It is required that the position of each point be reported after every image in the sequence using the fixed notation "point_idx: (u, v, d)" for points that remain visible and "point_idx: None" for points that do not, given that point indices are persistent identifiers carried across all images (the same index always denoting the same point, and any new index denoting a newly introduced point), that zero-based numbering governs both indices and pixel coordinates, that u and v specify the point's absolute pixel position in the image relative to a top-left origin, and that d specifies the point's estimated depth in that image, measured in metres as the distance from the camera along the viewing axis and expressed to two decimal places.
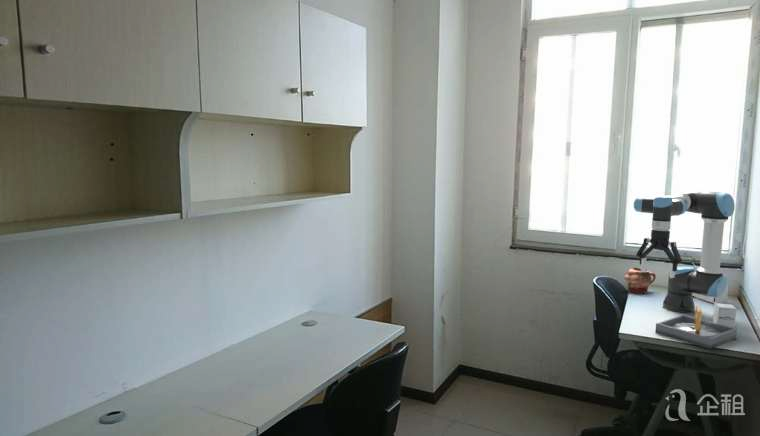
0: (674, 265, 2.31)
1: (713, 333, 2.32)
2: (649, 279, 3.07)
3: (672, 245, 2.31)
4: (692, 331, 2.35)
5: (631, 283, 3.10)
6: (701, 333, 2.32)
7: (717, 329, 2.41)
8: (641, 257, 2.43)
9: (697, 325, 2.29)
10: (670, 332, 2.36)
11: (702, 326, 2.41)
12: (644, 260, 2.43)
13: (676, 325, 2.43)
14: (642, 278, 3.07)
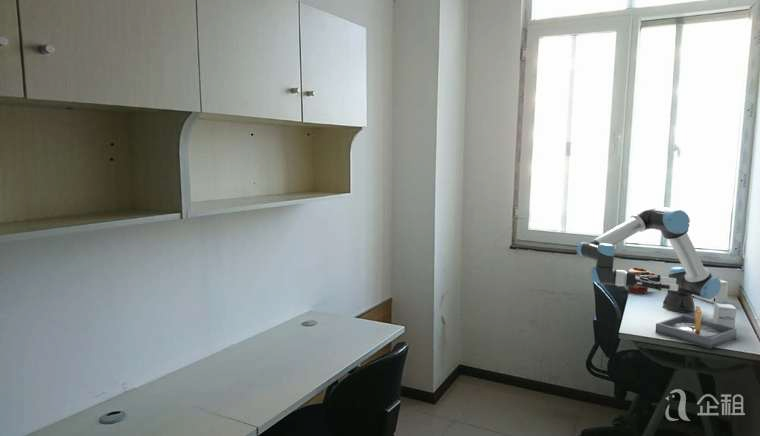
0: None
1: (713, 333, 2.32)
2: None
3: None
4: (692, 331, 2.35)
5: None
6: (701, 333, 2.32)
7: (717, 329, 2.41)
8: (659, 281, 2.45)
9: (697, 325, 2.29)
10: (670, 332, 2.36)
11: (702, 326, 2.41)
12: (662, 280, 2.43)
13: (676, 325, 2.43)
14: None
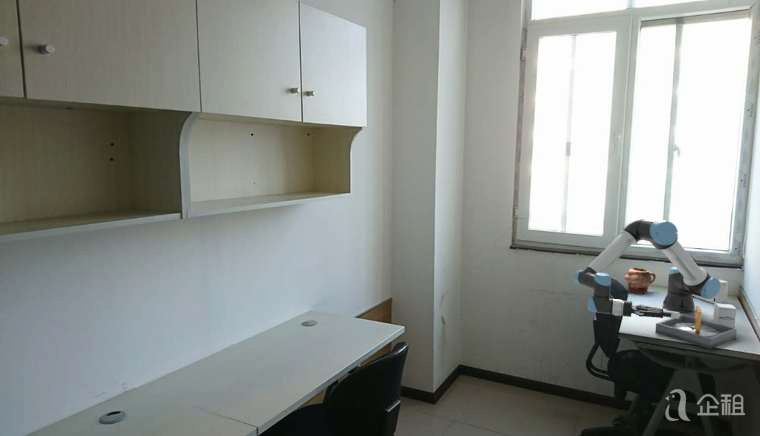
0: None
1: (713, 333, 2.32)
2: (649, 279, 3.07)
3: None
4: (692, 331, 2.35)
5: (631, 283, 3.10)
6: (701, 333, 2.32)
7: (717, 329, 2.41)
8: None
9: (697, 325, 2.29)
10: (670, 332, 2.36)
11: (702, 326, 2.41)
12: None
13: (676, 325, 2.43)
14: (642, 278, 3.07)
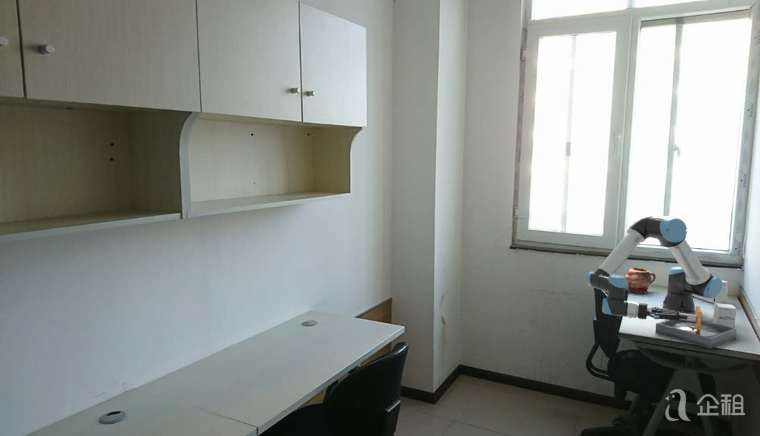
0: None
1: (713, 333, 2.32)
2: (649, 279, 3.07)
3: None
4: (692, 331, 2.35)
5: (631, 283, 3.10)
6: (701, 333, 2.32)
7: (717, 329, 2.41)
8: None
9: (697, 325, 2.29)
10: (670, 332, 2.36)
11: (702, 326, 2.42)
12: None
13: (676, 325, 2.43)
14: (642, 278, 3.07)
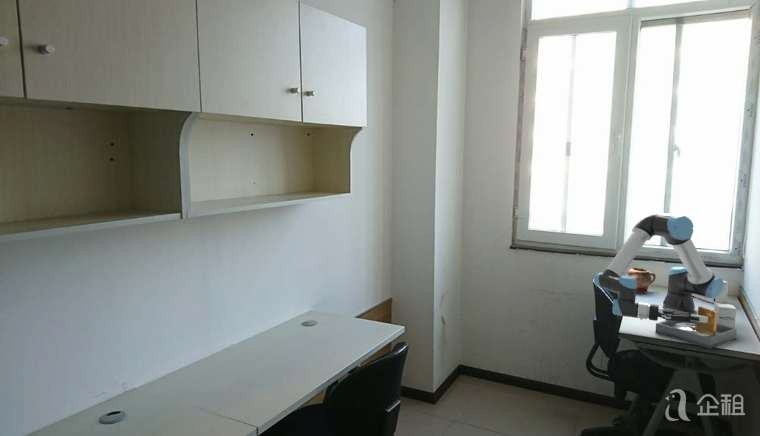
0: None
1: None
2: (649, 279, 3.07)
3: None
4: (702, 332, 2.33)
5: None
6: None
7: (717, 329, 2.41)
8: None
9: (714, 326, 2.29)
10: (670, 332, 2.36)
11: (691, 324, 2.44)
12: None
13: (680, 329, 2.37)
14: (642, 278, 3.07)
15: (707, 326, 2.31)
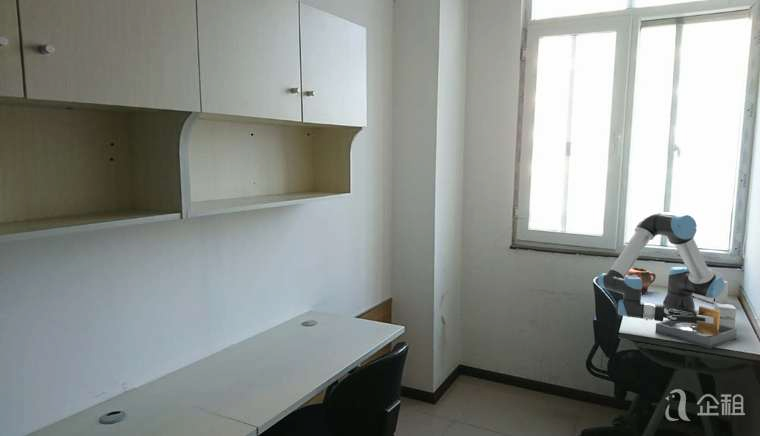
0: None
1: None
2: (649, 279, 3.07)
3: None
4: (704, 332, 2.33)
5: None
6: None
7: None
8: None
9: (717, 325, 2.29)
10: (670, 332, 2.36)
11: (687, 324, 2.44)
12: None
13: (684, 330, 2.35)
14: (642, 278, 3.07)
15: (709, 326, 2.32)
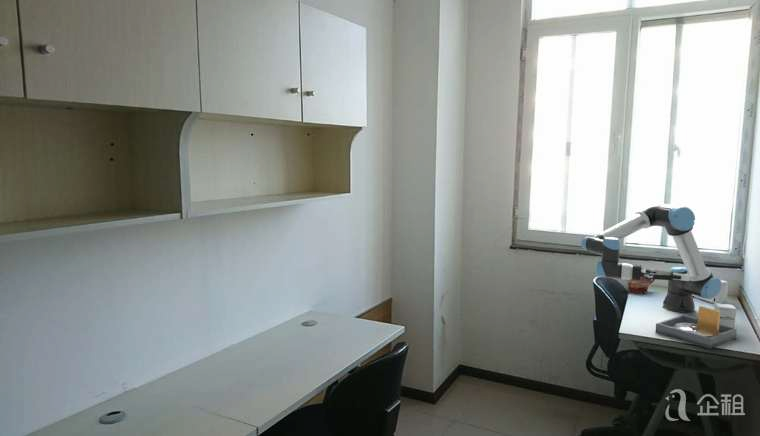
0: None
1: None
2: None
3: None
4: (704, 332, 2.33)
5: (631, 283, 3.10)
6: None
7: None
8: None
9: (717, 325, 2.29)
10: (670, 332, 2.36)
11: (687, 324, 2.44)
12: None
13: (684, 330, 2.35)
14: (642, 278, 3.07)
15: (710, 326, 2.32)
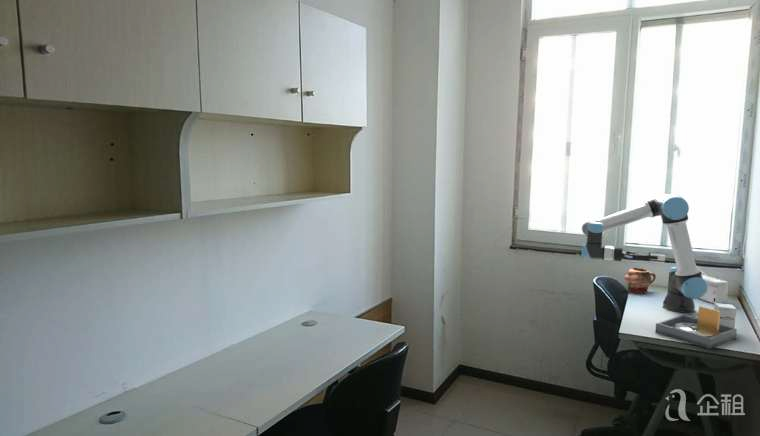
0: (651, 258, 2.59)
1: None
2: (649, 279, 3.07)
3: None
4: (704, 332, 2.33)
5: (631, 283, 3.10)
6: None
7: None
8: None
9: (717, 325, 2.29)
10: (670, 332, 2.36)
11: (687, 324, 2.44)
12: None
13: (684, 330, 2.35)
14: (642, 278, 3.07)
15: (710, 326, 2.32)
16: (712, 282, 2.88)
